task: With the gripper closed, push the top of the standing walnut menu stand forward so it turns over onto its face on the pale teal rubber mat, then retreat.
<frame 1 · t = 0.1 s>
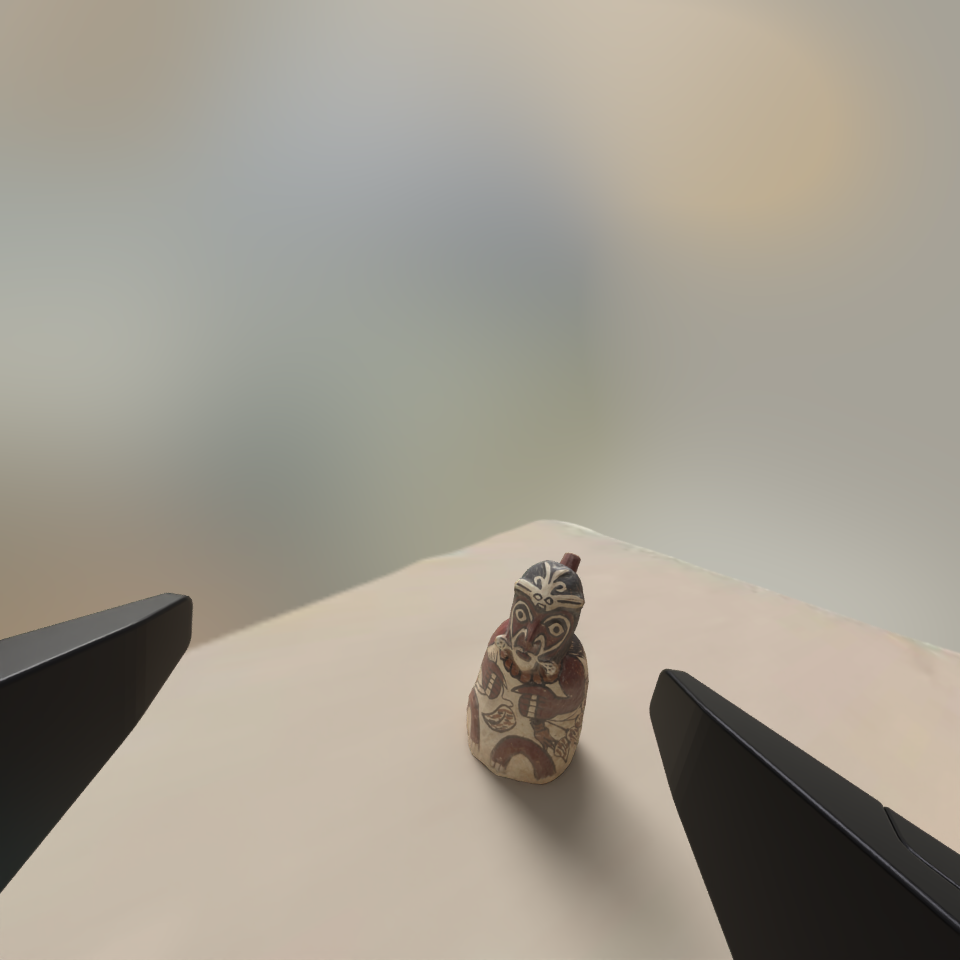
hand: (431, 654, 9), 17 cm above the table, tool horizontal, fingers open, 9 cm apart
figurine: (517, 736, 29), on the table
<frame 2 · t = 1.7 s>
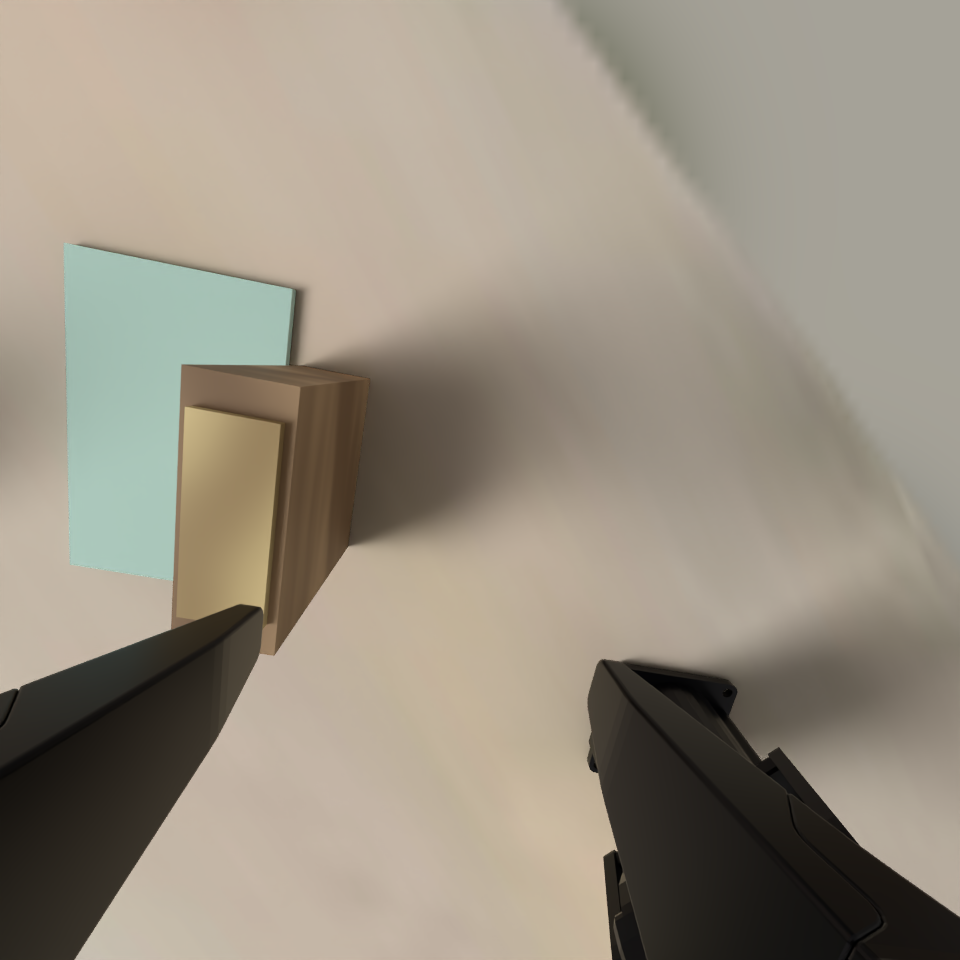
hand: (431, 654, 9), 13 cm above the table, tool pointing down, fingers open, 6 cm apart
mat: (179, 434, 21), on the table
menu stand: (325, 460, 21), on the table
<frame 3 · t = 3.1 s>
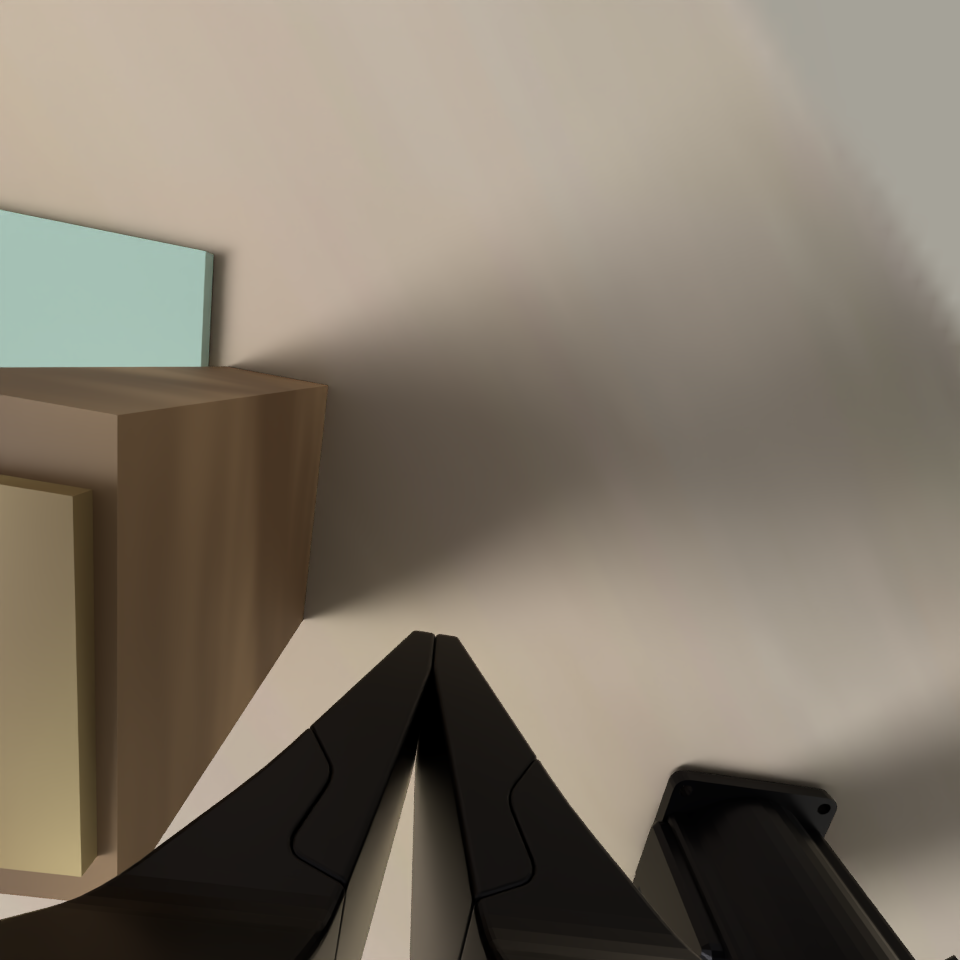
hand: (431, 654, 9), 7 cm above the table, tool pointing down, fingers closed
mat: (53, 466, 14), on the table
menu stand: (267, 501, 15), on the table
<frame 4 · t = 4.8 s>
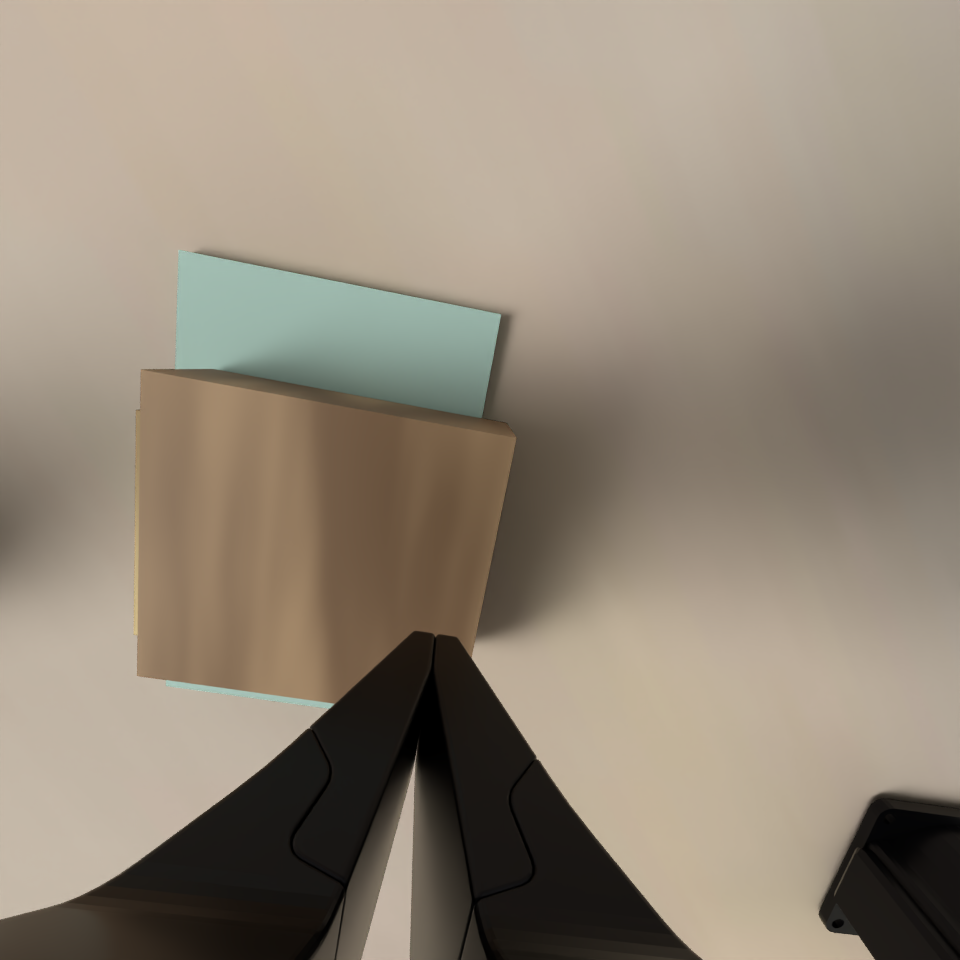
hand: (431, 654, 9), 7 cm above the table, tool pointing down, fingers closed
mat: (322, 513, 15), on the table
menu stand: (483, 566, 13), point 2 cm above the table, tilted 90°, touching mat
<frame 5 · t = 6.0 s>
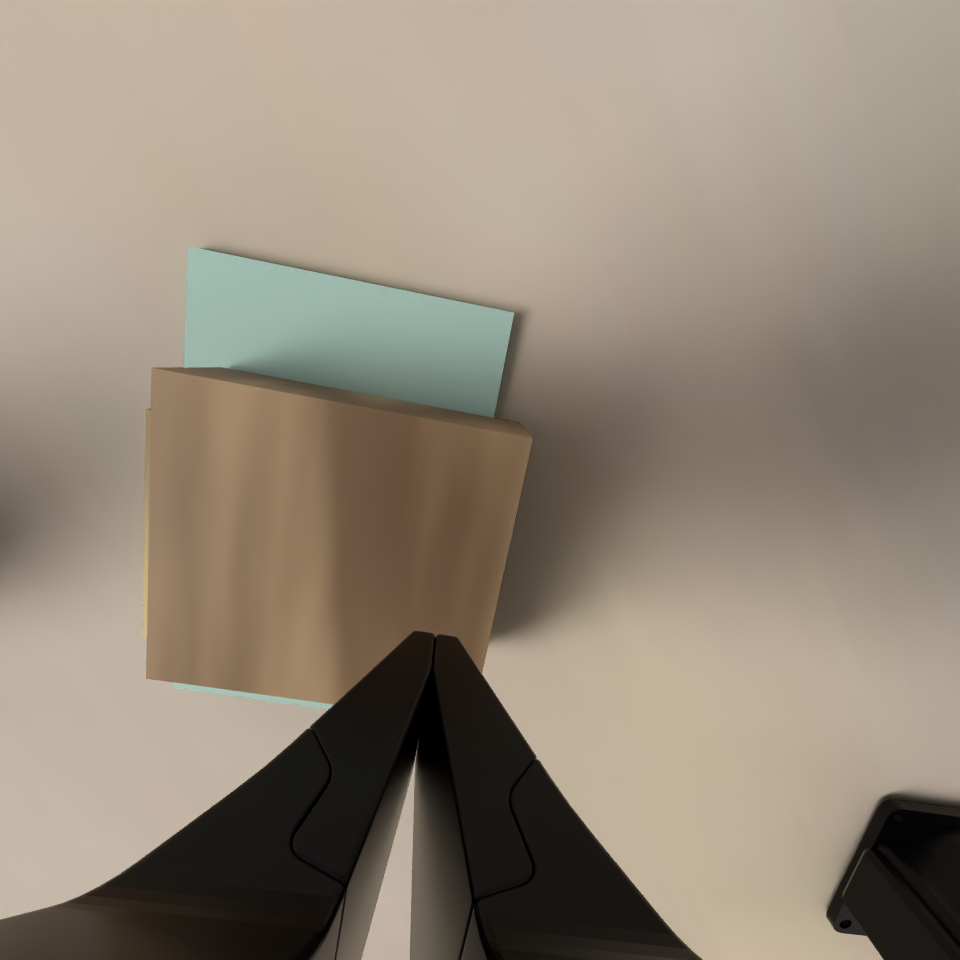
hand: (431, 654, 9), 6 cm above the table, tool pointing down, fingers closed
mat: (331, 513, 15), on the table
menu stand: (495, 567, 13), point 2 cm above the table, tilted 90°, touching mat
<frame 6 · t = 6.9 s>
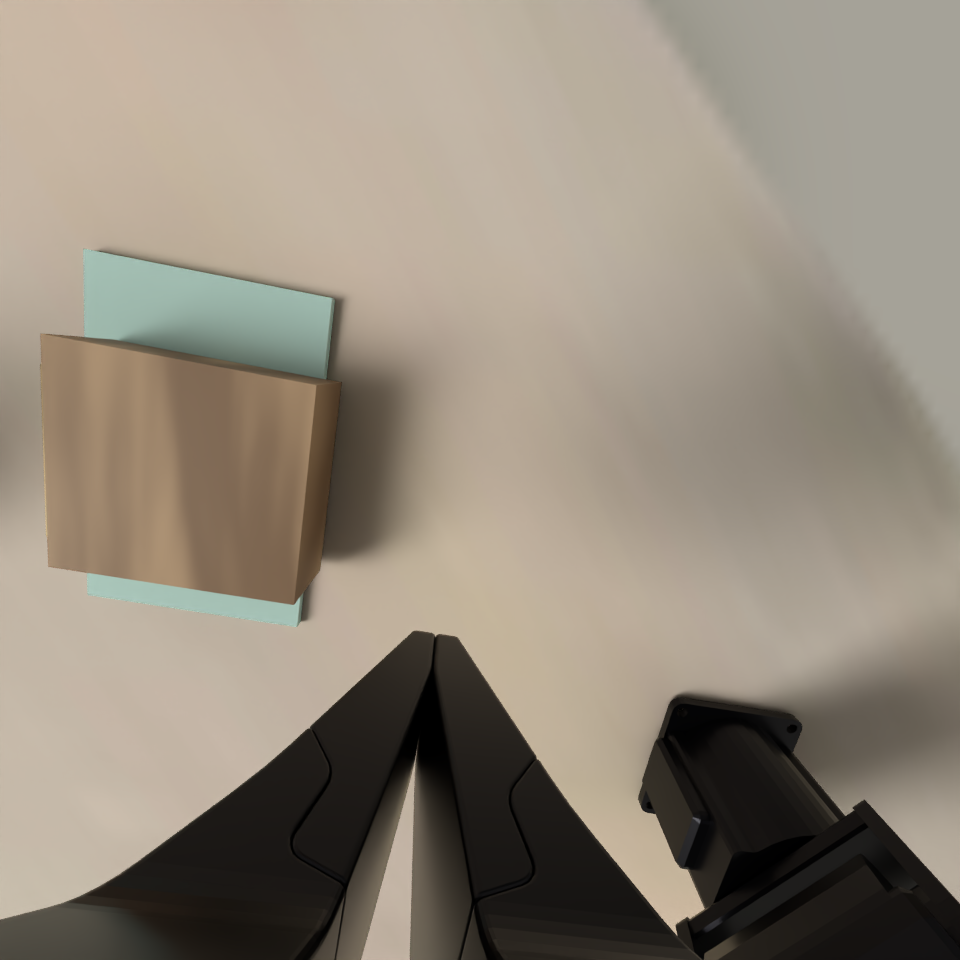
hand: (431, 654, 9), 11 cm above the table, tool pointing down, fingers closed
mat: (206, 455, 19), on the table
menu stand: (318, 490, 17), point 2 cm above the table, tilted 90°, touching mat
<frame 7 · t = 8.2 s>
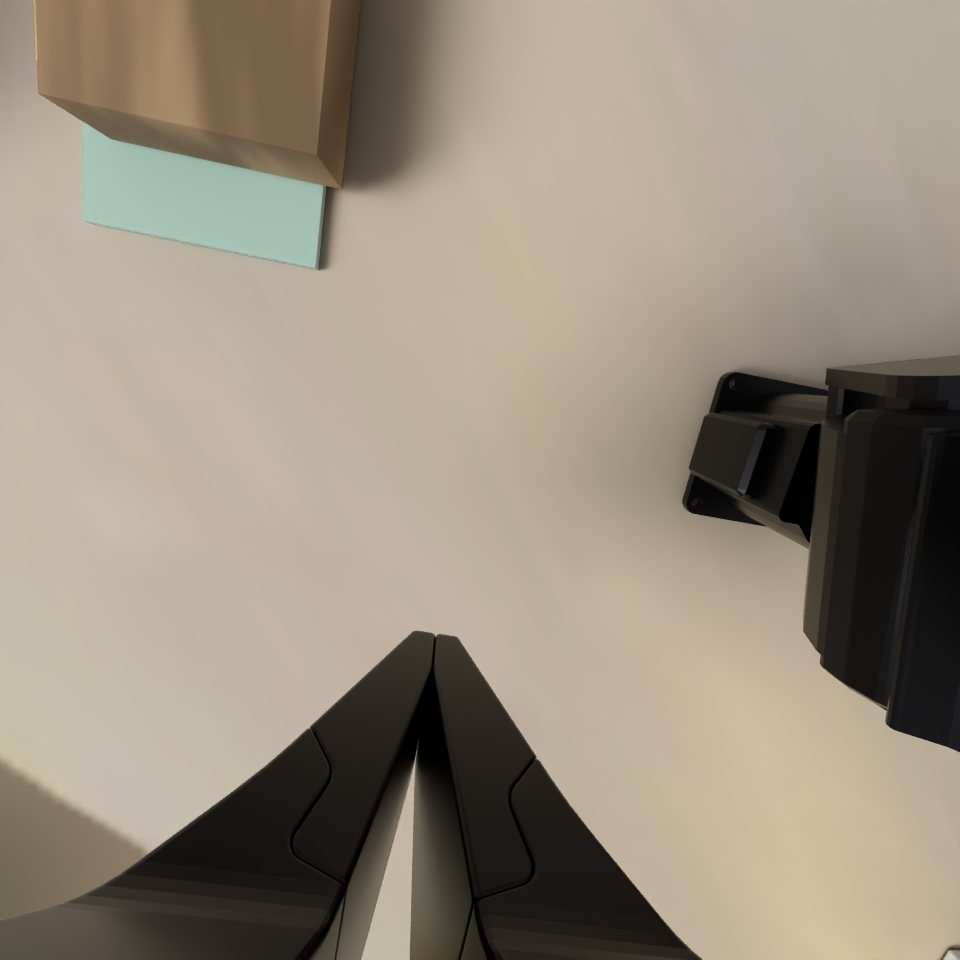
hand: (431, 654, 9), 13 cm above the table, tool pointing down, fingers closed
mat: (215, 44, 17), on the table
menu stand: (343, 41, 15), point 2 cm above the table, tilted 90°, touching mat
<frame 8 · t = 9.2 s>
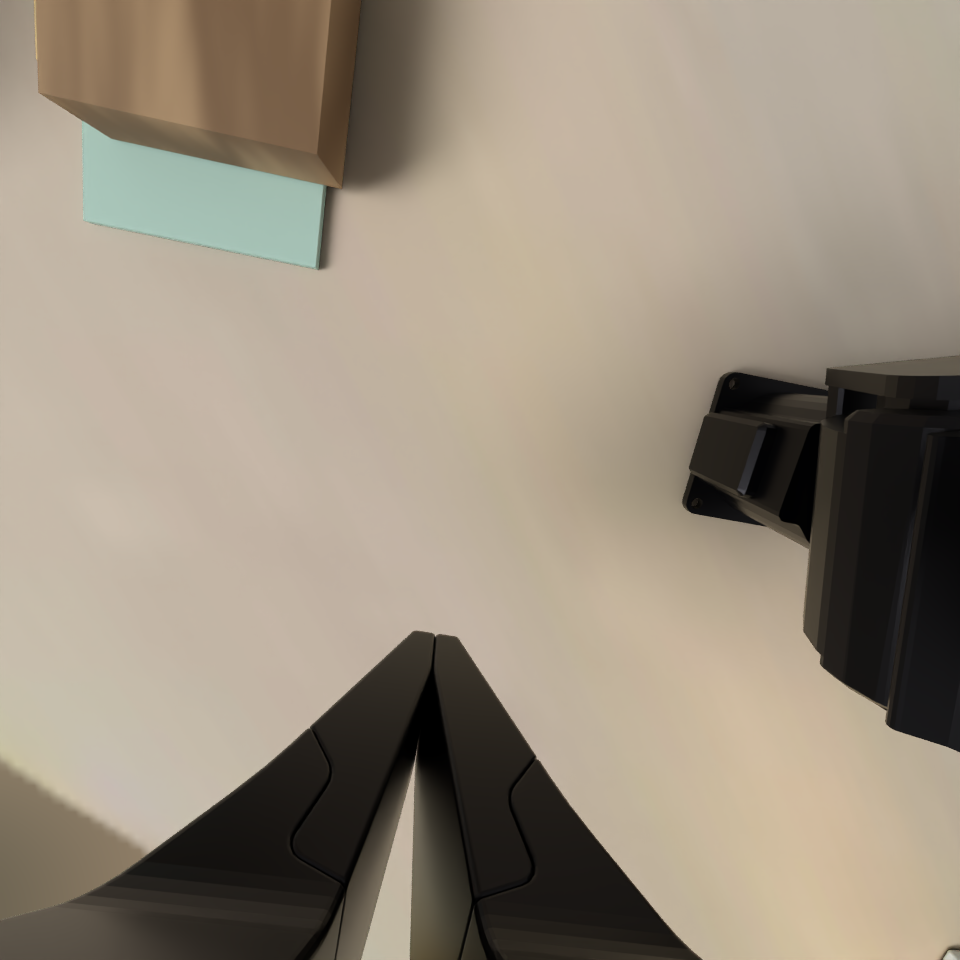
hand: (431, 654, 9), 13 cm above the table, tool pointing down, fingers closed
mat: (215, 44, 17), on the table
menu stand: (343, 40, 15), point 2 cm above the table, tilted 90°, touching mat
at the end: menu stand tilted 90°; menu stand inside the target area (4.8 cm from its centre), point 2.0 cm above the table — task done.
